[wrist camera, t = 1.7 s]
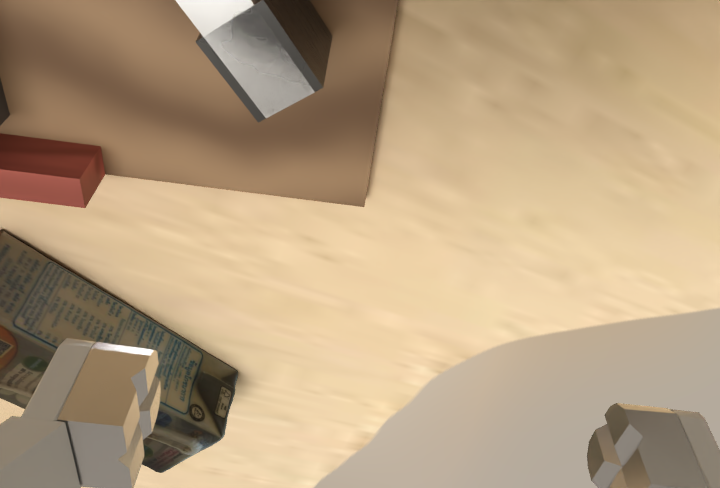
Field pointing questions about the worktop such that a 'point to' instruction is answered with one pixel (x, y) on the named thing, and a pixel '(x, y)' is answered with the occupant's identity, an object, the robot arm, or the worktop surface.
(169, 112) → the tongs base
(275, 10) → the jaw
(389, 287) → the worktop surface
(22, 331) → the beverage carton
